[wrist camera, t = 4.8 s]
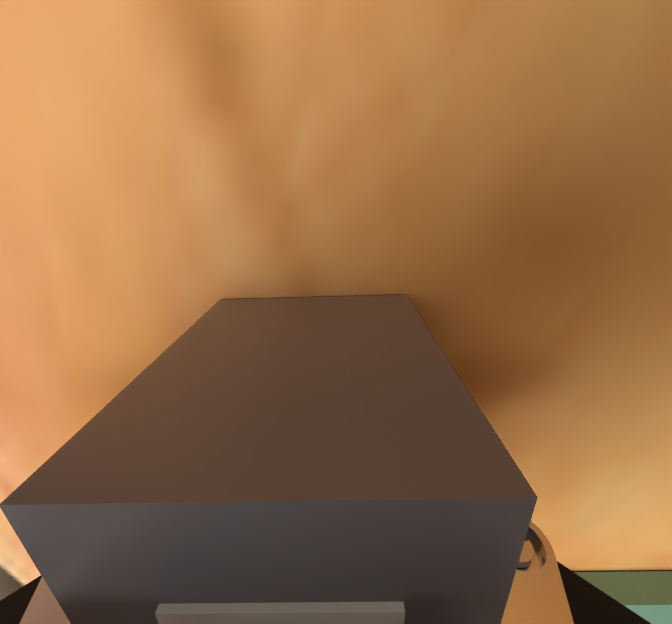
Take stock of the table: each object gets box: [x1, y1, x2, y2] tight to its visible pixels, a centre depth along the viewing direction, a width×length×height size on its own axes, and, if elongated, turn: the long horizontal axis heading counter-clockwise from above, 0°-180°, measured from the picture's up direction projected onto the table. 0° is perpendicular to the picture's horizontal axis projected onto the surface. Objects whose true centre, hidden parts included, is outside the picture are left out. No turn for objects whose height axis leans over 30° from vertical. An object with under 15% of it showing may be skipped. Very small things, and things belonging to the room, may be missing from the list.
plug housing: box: [0, 294, 537, 624], centre depth 8 cm, size 6×8×7 cm, turn 2°
